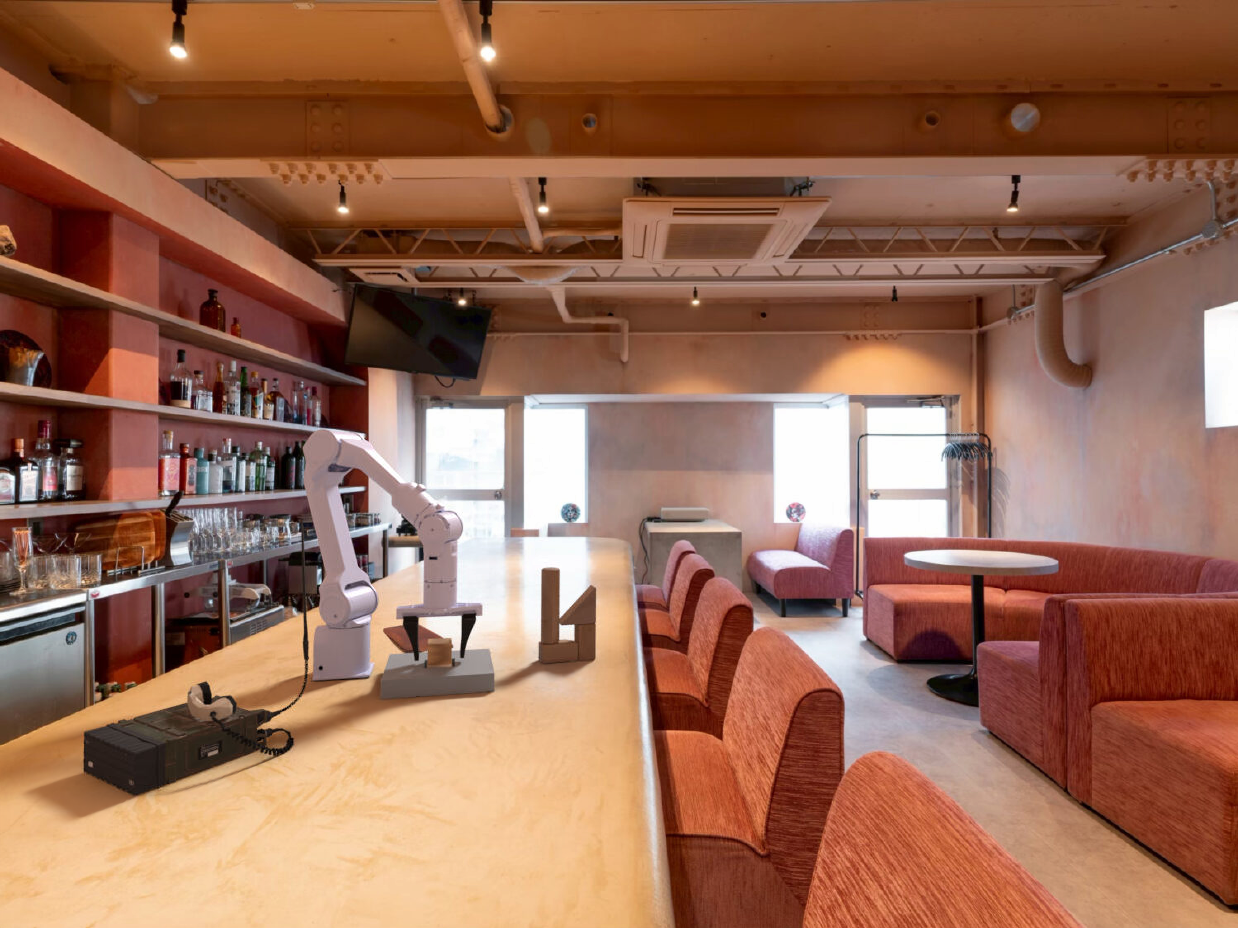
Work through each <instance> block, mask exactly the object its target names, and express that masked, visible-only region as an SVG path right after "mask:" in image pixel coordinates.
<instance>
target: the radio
mask: <svg viewBox="0 0 1238 928" xmlns="http://www.w3.org/2000/svg"><path fill="white" fill-rule="evenodd" d="M300 522H301V523H300V525H301V526H300V530H301V531H300V533H301V535H300V537H301V576H302V578H301V579H302V607H303V609H302V611H303V613H302V614H303V637H302V650H303V651H302V652H303V660H304V677H303V680H304V681H303V685H302V688H301V690H300V692H299V693H298V695H297V697H296V698H295V699H294V700H293V701H292V702H290V704H289V705H287V706H285V707H283V708H281V709H278V710H274V711H270V710H268V709H264V708H259V709H252V710H249V709H247V708H243V707H239V706H238V702H237V701H236V700H235V699H234V697H233V696H232V695H231V694H230V695H217V694H216V695H214V697H213V695H212V691H211V686H210V684H209V683H208V681H207V680H206V681H203V682H202V681H201V682H200V683H197V684H196V685H191V686H190V688H189V689H188V692H187V697H186V699H187V700H186V702H183V703H181V704H176V705H173V706H170V707H167V708H163V709H158V710H156V711H152V712H148V713H144V714H142V715H138V716H135V717H133V718H131V719H125V718H124V719H120V720H118V721H117V723H114V722H111V723H108V724H106V725H105V726H101V727H97V728H93V729H88V730H85V731H83V760H82V762H83V768H82V769H83V772H84V773H86V774H88V775H91V776H92V777H96V779H97V780H99V779H101V781H103V782H106V784H111V785H112V786H113V787H116V788H117V789H121V790H122V791H123V792H127V794H131V796H137V795H139V794H143V793H145V792H147V791H149V790H152V789H155V788H161V787H163V786H165V785H166V784H168V785H171V784H174V783H176V780H178V779H181V778H184V777H190V776H192V775H195V774H197V773H200V772H203V771H206V770H209V769H211V768H212V769H213V766H218V765H221V764H224V763H226V762H229V761H232V760H235V759H237V758H239V757H241V756H242V755H245V756H246V755H248V754H251V753H254V752H255V751H260V754H262V753H263V754H264V755H268V756H275V755H277V756H279V755H280V754H281V755H284V754H285V753H288V751H290V750H291V749H292V747H293V746H295V745H294V743H295V737H292V734H291V731H289V730H288V729H285V728H283V727H279V728H278V727H277V728H270V727H269V728H265V729H264V728H261V726H263V725H264V724H267V723H269V722H271V721H272V720H273V718H275V717H278V716H279V715H281V713H284V712H285V711H287V710H289V709H290V708H292V706H294V705H295V704H297V703H298V701H299V700H300V698H302V696H303V694H304V691H305V689H306V686H307V682H308V681H307V680H308V676H309V674H308V672H309V671H308V670H309V660H310V657H309V649H310V647H309V644H310V643H309V642H310V641H309V635H308V634H309V632H308V618H307V617H308V616H307V614H308V613H307V592H306V591H307V590H306V589H307V588H306V564H305V563H306V560H305V535H304V534H305V533H304V532H305V529H304V519H303V520H301V521H300ZM278 732H284V733H285V734H286V735H287V737H288V739H287V740H286V744H285V746H283V747H280V748H279V747H276V748H275V747H272V748H269V746H267V744H268V742H267V738H270V737H273V735H274V733H278Z"/></svg>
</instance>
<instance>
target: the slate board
mask: <svg viewBox="0 0 1238 928" xmlns="http://www.w3.org/2000/svg"><path fill="white" fill-rule="evenodd" d="M427 663H428V651H425V652H420V653H419V661H414V653H407V652H405V653H404V652H403V653H389V655H388V658H387V661H386V665H385V668H384V671H383V673H382V676H381V678H380V700H386V699H389V700H390V699H404V698H403V697H405V698H416V696H420V697H429V696H431V697H432V696H433V695H434V696H445V695H458V694H459V695H460V694H474V693H487V691H490V692H495V669H494V665H493V660H492V655H491V651H490V648H477V649H474V648H473V649H465V655H464V658H460V649H457V650H456V649H455V650H452V667H439V668H427Z"/></svg>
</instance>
